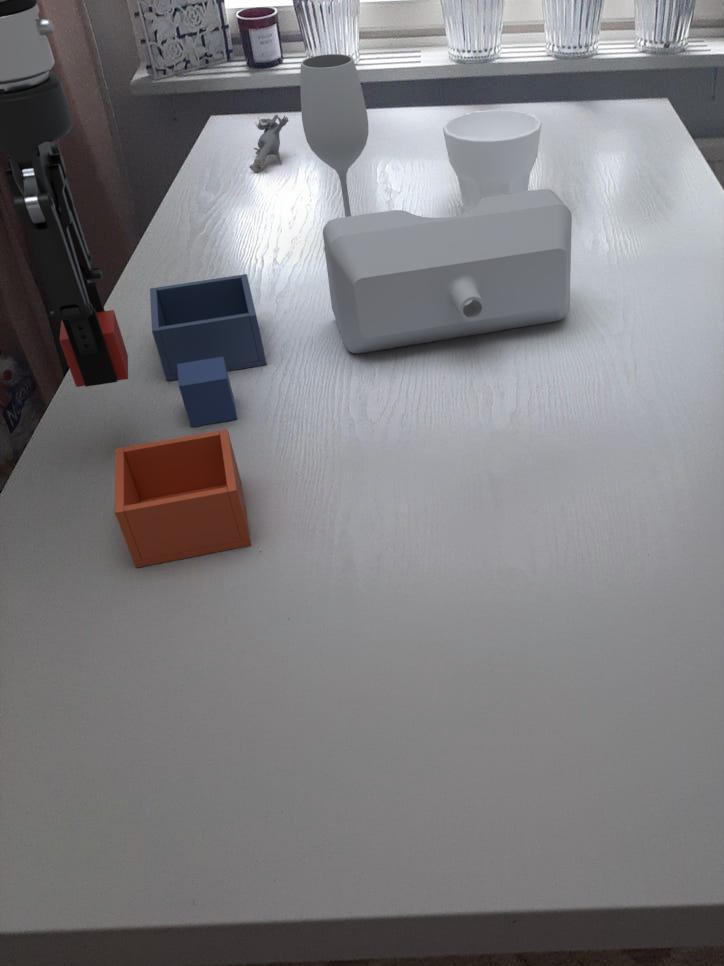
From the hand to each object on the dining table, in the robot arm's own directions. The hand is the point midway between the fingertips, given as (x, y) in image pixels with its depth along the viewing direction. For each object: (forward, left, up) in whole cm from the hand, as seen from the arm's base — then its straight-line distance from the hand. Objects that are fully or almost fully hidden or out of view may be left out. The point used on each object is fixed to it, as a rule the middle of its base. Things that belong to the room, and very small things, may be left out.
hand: (101, 367), depth 87 cm
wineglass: (+28, +38, -8) cm, 48 cm away
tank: (+35, +11, -8) cm, 38 cm away
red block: (0, 0, 0) cm, 0 cm away
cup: (+48, +42, -8) cm, 64 cm away
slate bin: (+9, +16, -8) cm, 20 cm away
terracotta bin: (+5, -15, -8) cm, 18 cm away
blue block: (+8, +3, -8) cm, 12 cm away
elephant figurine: (+22, +74, -8) cm, 78 cm away
